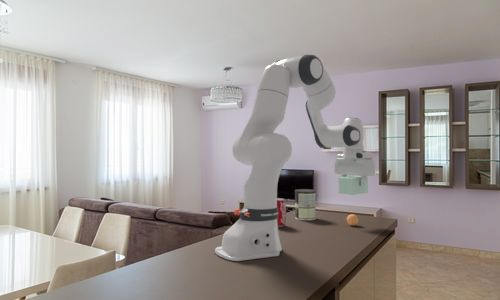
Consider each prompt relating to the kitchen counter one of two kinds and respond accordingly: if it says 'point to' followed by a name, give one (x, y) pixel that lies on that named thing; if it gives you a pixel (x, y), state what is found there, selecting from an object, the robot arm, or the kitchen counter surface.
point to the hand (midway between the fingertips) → (353, 185)
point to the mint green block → (352, 185)
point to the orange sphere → (352, 219)
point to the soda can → (281, 212)
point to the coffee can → (305, 204)
